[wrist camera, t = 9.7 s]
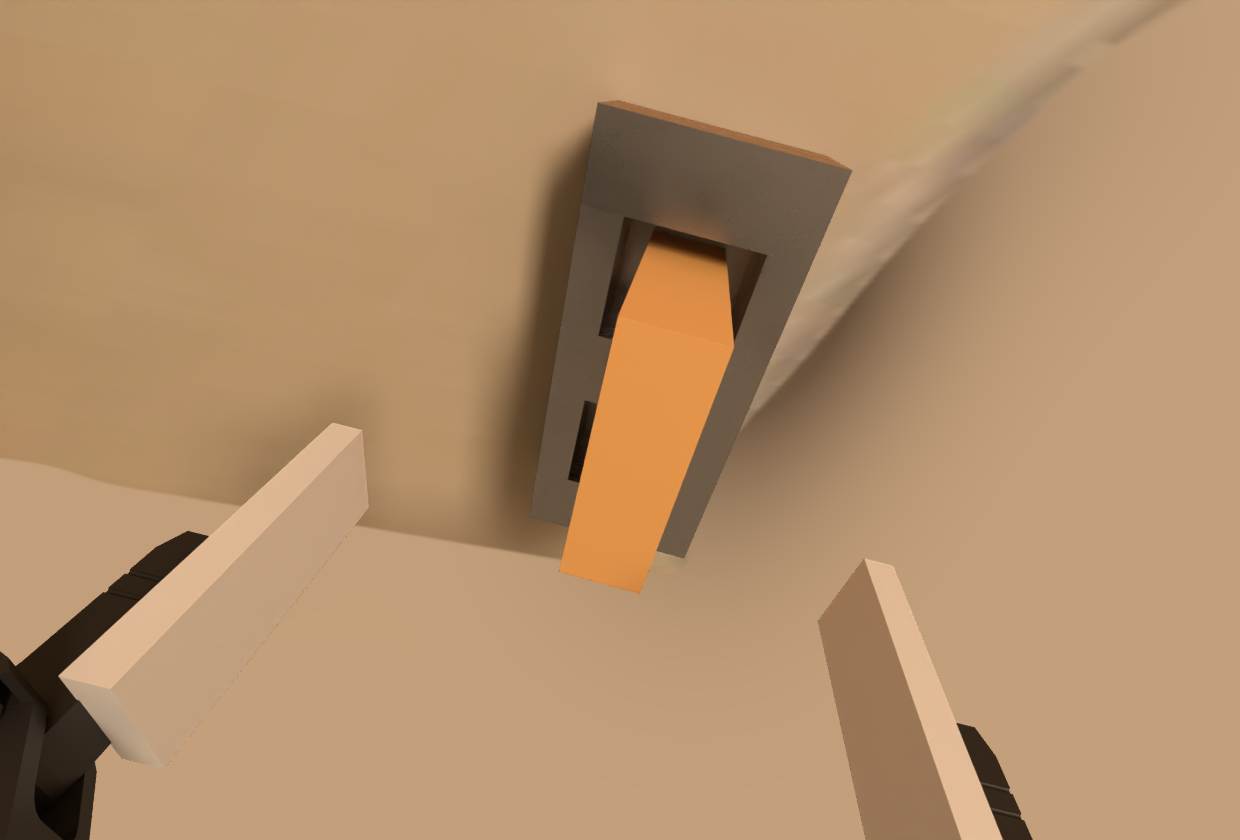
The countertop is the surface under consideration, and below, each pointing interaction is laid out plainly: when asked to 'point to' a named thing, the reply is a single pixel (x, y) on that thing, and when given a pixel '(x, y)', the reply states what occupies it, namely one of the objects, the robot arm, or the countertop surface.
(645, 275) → the orange u-shaped block
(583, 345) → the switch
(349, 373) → the countertop surface
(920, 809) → the robot arm
